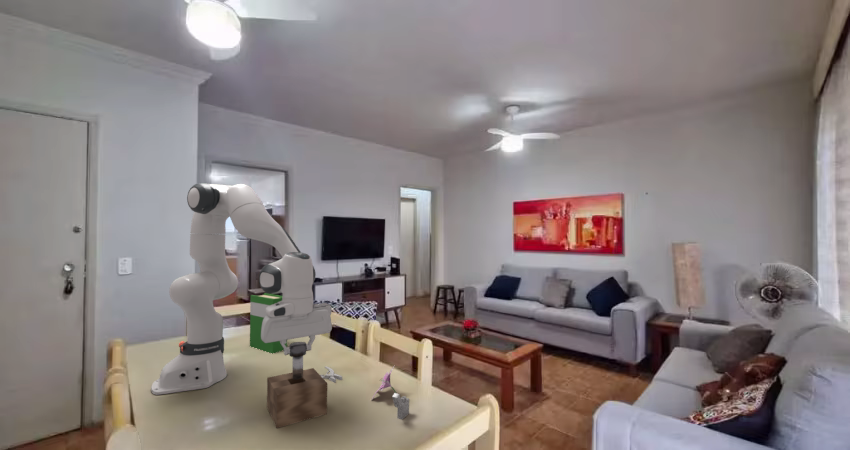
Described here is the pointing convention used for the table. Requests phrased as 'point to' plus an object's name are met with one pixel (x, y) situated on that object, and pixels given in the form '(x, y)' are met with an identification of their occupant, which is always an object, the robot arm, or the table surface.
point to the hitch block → (296, 397)
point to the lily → (385, 382)
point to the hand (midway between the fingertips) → (297, 352)
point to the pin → (297, 358)
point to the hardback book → (256, 320)
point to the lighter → (401, 405)
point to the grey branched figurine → (331, 375)
